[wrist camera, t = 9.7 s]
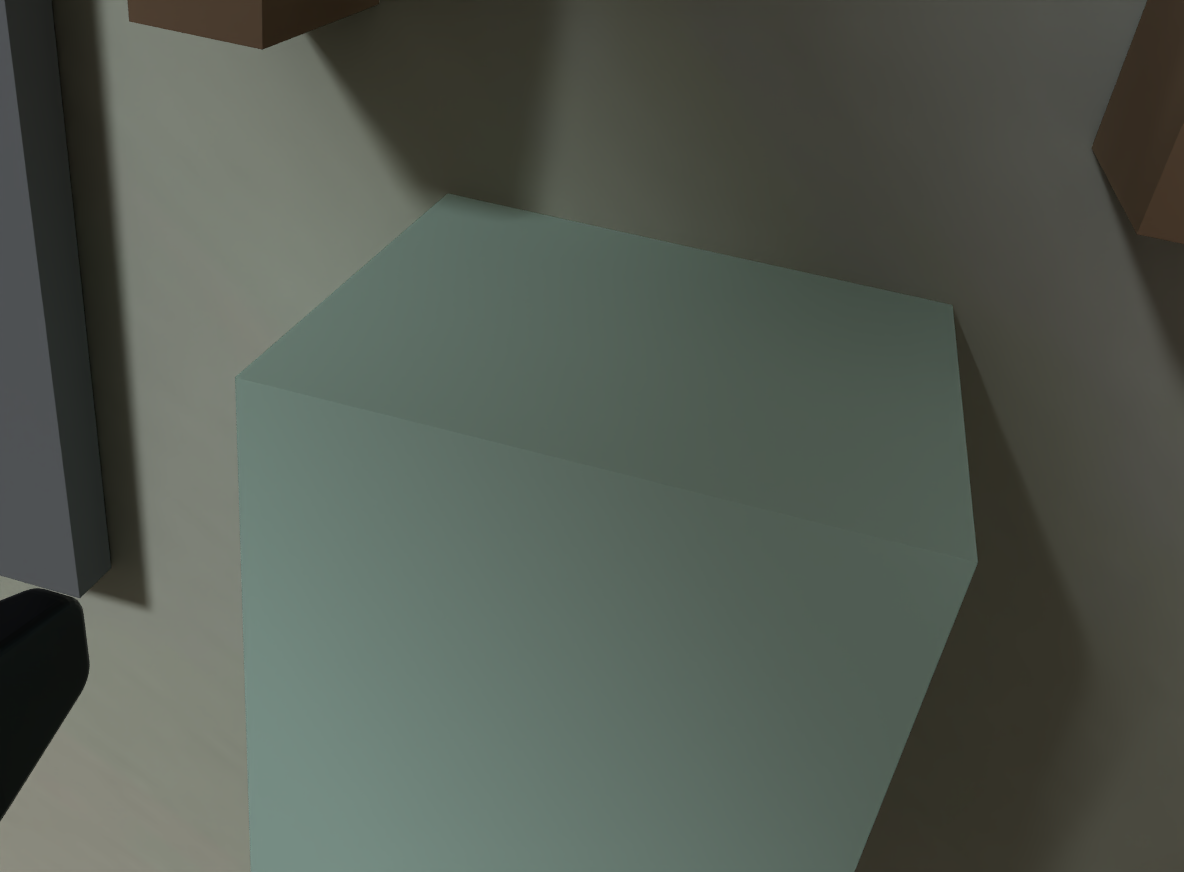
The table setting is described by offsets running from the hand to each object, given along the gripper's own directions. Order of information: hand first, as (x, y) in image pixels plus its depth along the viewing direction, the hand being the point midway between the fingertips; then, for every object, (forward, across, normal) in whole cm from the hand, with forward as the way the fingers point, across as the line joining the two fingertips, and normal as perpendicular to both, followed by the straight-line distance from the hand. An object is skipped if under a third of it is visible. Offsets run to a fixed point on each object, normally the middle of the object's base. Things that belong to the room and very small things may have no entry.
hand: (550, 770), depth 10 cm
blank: (+3, 0, +1) cm, 3 cm away
